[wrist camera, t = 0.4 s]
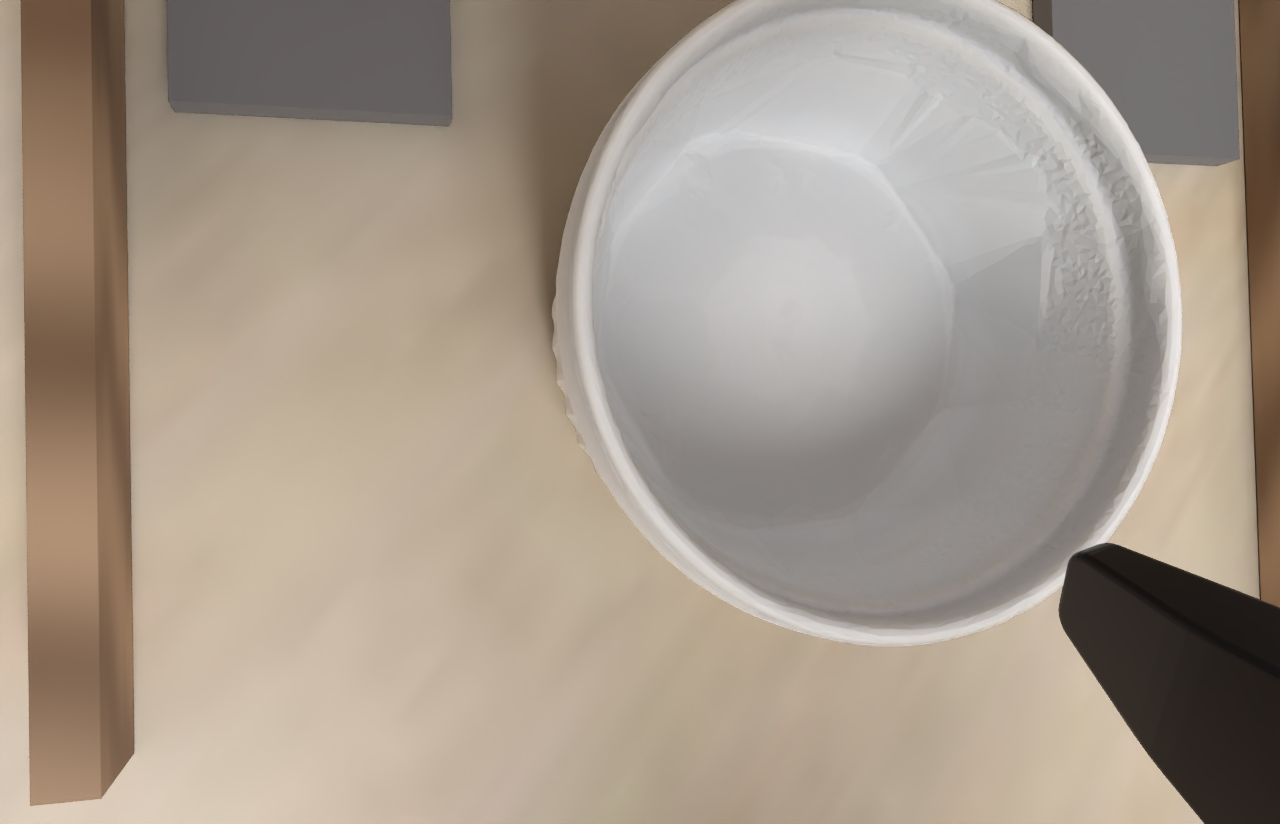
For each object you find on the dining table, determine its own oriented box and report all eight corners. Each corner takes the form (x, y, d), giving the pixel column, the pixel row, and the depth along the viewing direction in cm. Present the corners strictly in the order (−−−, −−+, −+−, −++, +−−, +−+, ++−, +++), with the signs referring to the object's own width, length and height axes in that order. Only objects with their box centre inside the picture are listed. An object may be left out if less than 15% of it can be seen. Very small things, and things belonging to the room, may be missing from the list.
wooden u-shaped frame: (1296, 644, 31) (1393, 666, 28) (72, 758, 22) (30, 805, 19) (1260, -337, 31) (1351, -417, 28) (56, -584, 23) (12, -732, 20)
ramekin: (1066, 462, 29) (1279, 468, 22) (651, 693, 26) (753, 783, 19) (878, 12, 28) (1043, -124, 21) (419, 195, 25) (441, 104, 18)
